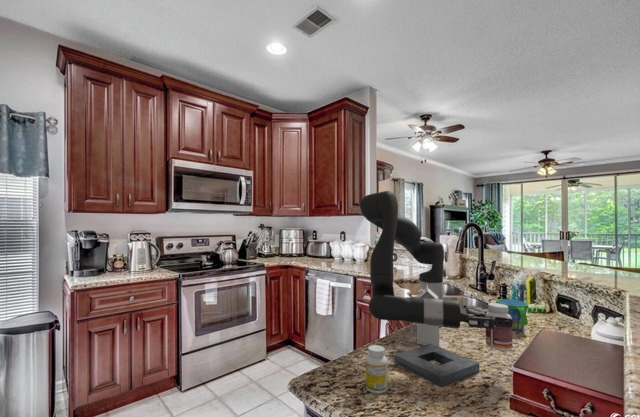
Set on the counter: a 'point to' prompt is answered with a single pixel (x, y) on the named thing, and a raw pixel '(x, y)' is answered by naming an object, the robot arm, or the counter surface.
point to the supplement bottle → (376, 370)
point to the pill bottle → (499, 329)
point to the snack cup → (516, 313)
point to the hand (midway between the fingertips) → (508, 319)
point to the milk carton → (424, 331)
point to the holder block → (439, 375)
